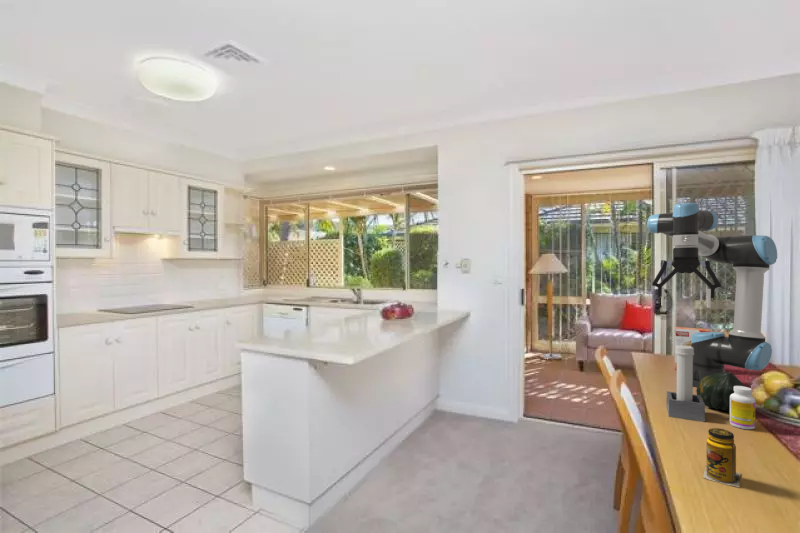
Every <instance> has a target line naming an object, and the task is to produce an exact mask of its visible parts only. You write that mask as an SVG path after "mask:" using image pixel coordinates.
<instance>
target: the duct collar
mask: <svg viewBox="0 0 800 533" xmlns="http://www.w3.org/2000/svg"><path fill="white" fill-rule="evenodd" d="M666 411H667V414H668V415H667V416H668V417H669V418H676V419H681V420H682V419H683V420H688V421H696V422H706V406H705V404H704V402H703V400H702V398H701V396H700V395H697V394H693V395H692V402H690V401H682V400H677V391H676V392H674V391H666Z"/></svg>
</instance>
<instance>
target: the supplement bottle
mask: <svg viewBox="0 0 800 533" xmlns="http://www.w3.org/2000/svg"><path fill="white" fill-rule="evenodd" d="M744 386H745V385H744ZM744 386H734V389H733V390H734V393H733V394H731V395H730V412H729V424H730V425H731V426H733V427H734V428H738V429H742V430H749V431H750V430H754V429H755V428H756V399H755V397H754V396H753V395H752V393H753V391H752V388H750V387H747V386H745V387H744Z"/></svg>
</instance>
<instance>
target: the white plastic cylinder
mask: <svg viewBox="0 0 800 533" xmlns="http://www.w3.org/2000/svg"><path fill="white" fill-rule="evenodd" d="M674 332H676V331H675V330H674ZM676 333H677V332H676ZM678 334H679V333H678ZM679 335H680V334H679ZM680 336H681V335H680ZM681 338H682V336H681ZM682 339H683V338H682ZM683 342H684V340H683ZM675 353H676V354H677V370H676V393H677V400H682V401H690V402H692V395H694V394H693V389H694V388H693V387H694V386H693V355H694V348H693V347H690V346H685V343H684V346H683V345H679V346H676V351H675V350H674V354H675Z"/></svg>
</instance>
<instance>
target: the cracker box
mask: <svg viewBox="0 0 800 533" xmlns="http://www.w3.org/2000/svg"><path fill="white" fill-rule="evenodd" d="M674 328H675V330H674V332H675V331H676V332H677V333H676V332H675V333H674V335H675V336H674V370H675V371H677V354H676V353H675V351H676V346H679V345H683V346H684V343H685V346H690V347H691V341H692V335H693V334H694V333H698V332H711V330H710V329H709V328H697V327H696V328H694V327H684V326H683V327H682V326H674ZM678 333H679V334H680V335H681V336H682V338H683V339H682V338H681V336H680V335H679V334H678ZM683 340H684V342H683Z"/></svg>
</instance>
